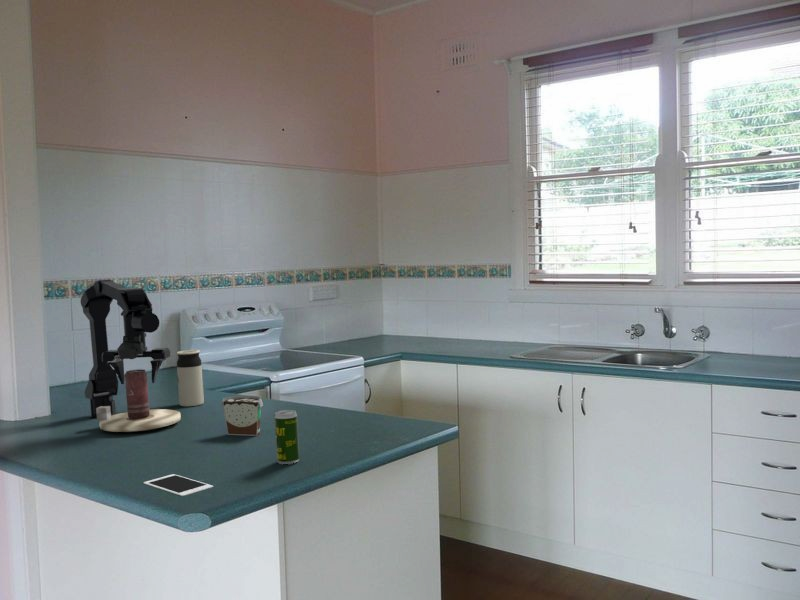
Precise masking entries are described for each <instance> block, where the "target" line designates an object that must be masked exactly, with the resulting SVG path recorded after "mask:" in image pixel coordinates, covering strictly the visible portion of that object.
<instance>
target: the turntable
mask: <svg viewBox="0 0 800 600" xmlns="http://www.w3.org/2000/svg"><path fill="white" fill-rule="evenodd" d="M149 412H150V414H149V416H148V417H146V418H142V419H130V418H129V417H128V411H126V412H121V413H115V414H113V415H111V410H110V406H100V407H98V408H96V413H97V417H96V421H99V429H100V430H102V431H106V432H114V433H115V432H116V433H118V432H121V433H130V432H129V431H140V432H142V431H141V430H147V431H150V430H149V429H153V430H156V429H155V428H157V429H160V428H163V427H167V426H170V425H174V424H176V423H178V422H179V421H181V420H182V416H181V414H182V413H181V412H180V411H179V410H174V409H167V408H164V409H163V408H162V409H161V408H155V409H154V408H153V409H149Z"/></svg>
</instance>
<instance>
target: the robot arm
mask: <svg viewBox="0 0 800 600" xmlns="http://www.w3.org/2000/svg"><path fill="white" fill-rule="evenodd" d="M114 300H115V301H116V305H118V306H119V308H121V310H122V311H121V313H120V316H121V317H123V318H122V319H123V331H124V335H123V336H122V343H120V345H119V346H118V347H117V349H109V344H108V343H109V341H108V333H107V332H108V331H107V322H106V321H107V317H108V315H109V313H110V312H111V305H112V302H113V301H114ZM80 306H81V307H82V313H83V315H84V316H86V318H87V320H89V329H90V340H91V341H90V342H91V353H92V354H91V355H92V364H93V366H92V368H91V369H90V372H89V373H88V382H87V384H86V387H85V389H84V396H85V399H89V404H90V414H91V415H89V416H88V418H93V419H94V418H97V413H96V408H98V407H100V406H110V410H111V416H112V415H115V414H117V411H116V401H115V399H114V396H118V390H119V382H120V384H121V385H125V366H124V365H125V363H124V360H128V359H129V360H135V359H136V358H137V359H139V358H152V360H150V364H151V365H150V366H151V383H152V384H154V383H155V382H156V380H157V377H158V375H159V370H160V368H161V366H162V363H163V362H164V361H167V359H168V358H170V357H171V350H170V348H169V347H155V348H152V349H150V350H148V346H147V345H146V344H147V343H146V337H147V333H149V334H151V333H154V332H157V330H158V329H159V326H160V319H159V317H158V316H157V314H155V313H153V304H152V303H151V301H150V299H149V297H148V295H147V293H146V291H145V290H144V289H143V288H142V287H126V286H124V285H122V284H119V283H117V282H115V281H113V280H112V279H99V280H95V282H94V283H93V284H92V286H90V287H89V288H87V289H86V290H84V291H83V294H82V295H81V297H80Z"/></svg>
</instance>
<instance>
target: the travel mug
mask: <svg viewBox="0 0 800 600" xmlns="http://www.w3.org/2000/svg"><path fill="white" fill-rule="evenodd" d="M200 352H201V350H199V349H187V350H180V351H177V352H176V354H177V356H178V358H177V360H176V369H177V371H176V374H177V384H178V387H177V388H178V389H177V390H178V403H179V406H180V407H183V408H184V407H185V408H186V407H188V408H190V407H199V406H201V405H203V404H204V403H205V398H204V397H205V395H204V381H203V368H202V365H203V363H202V359H201V357H200Z"/></svg>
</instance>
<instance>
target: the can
mask: <svg viewBox="0 0 800 600" xmlns="http://www.w3.org/2000/svg"><path fill="white" fill-rule="evenodd" d="M147 373H148V372H147V371H146V369H142V368H141V369H132V370H131V369H130V370H126V371H125V372H124V384H125V394H126V408H127V412H128V417H129V418H130V419H142V418H146V417H148V416H149V414H150V412H149V410H150V400H149V388H148V387H149V386H148V375H147Z"/></svg>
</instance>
